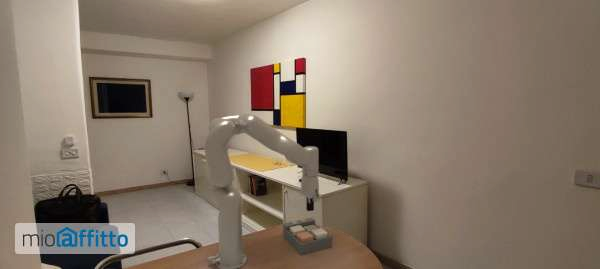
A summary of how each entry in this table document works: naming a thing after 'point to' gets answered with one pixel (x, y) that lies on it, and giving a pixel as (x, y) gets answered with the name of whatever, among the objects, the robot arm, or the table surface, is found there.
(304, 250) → the keypad
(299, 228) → the key cream left
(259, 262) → the table surface
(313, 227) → the key sage
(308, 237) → the key terracotta
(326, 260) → the table surface
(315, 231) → the key cream right
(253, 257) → the table surface
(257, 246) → the table surface
